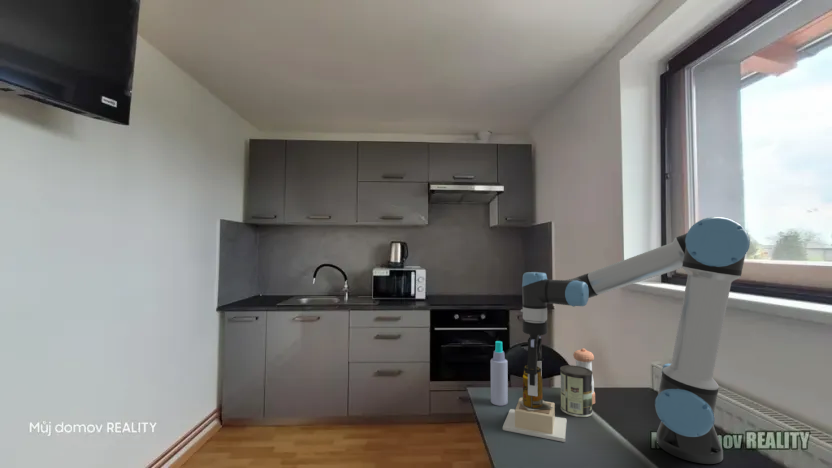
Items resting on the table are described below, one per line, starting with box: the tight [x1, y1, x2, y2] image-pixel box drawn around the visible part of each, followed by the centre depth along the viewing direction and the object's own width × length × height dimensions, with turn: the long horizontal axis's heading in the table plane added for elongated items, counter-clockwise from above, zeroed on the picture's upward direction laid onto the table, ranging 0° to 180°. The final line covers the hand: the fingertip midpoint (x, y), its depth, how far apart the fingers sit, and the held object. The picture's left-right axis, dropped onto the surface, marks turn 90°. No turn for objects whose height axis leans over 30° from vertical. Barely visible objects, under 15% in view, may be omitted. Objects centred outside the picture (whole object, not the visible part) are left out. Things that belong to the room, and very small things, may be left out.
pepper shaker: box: [573, 347, 596, 406], centre depth 139 cm, size 7×7×19 cm
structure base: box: [502, 397, 567, 443], centre depth 119 cm, size 18×14×6 cm
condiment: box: [518, 365, 553, 410], centre depth 120 cm, size 7×8×12 cm
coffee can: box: [559, 364, 593, 418], centre depth 131 cm, size 10×10×14 cm
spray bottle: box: [490, 340, 509, 407], centre depth 137 cm, size 6×6×22 cm
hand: (535, 387), depth 120 cm, fingers open, 13 cm apart
